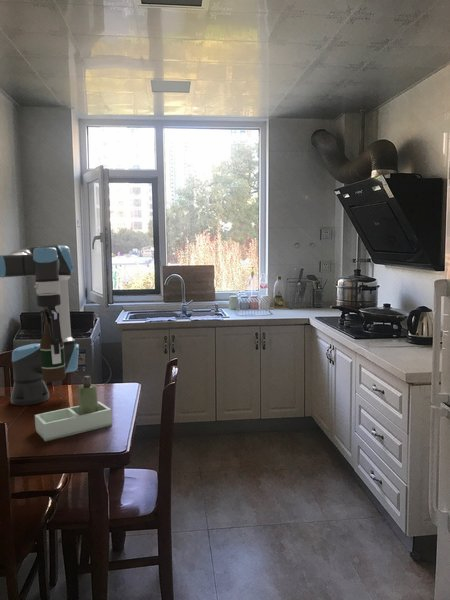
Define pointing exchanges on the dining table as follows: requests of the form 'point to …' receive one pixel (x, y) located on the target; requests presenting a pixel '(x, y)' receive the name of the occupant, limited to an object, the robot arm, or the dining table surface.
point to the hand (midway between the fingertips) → (53, 361)
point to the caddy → (71, 422)
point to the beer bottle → (48, 369)
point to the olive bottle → (87, 397)
